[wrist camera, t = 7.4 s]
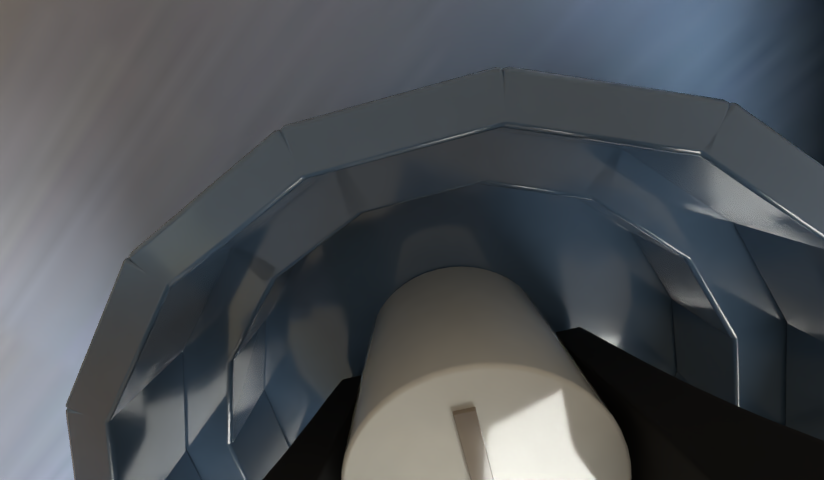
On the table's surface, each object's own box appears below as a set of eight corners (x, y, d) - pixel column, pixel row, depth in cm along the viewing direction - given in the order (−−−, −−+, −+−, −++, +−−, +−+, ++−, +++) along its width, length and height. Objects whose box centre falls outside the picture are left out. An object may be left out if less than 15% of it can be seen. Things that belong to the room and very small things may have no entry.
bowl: (729, 506, 11) (908, 721, 7) (308, 581, 12) (255, 808, 8) (710, 28, 7) (1033, -83, 4) (126, 186, 8) (-123, 236, 4)
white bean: (568, 455, 10) (658, 647, 6) (412, 486, 10) (410, 685, 6) (530, 245, 8) (620, 336, 5) (347, 289, 8) (297, 405, 5)
